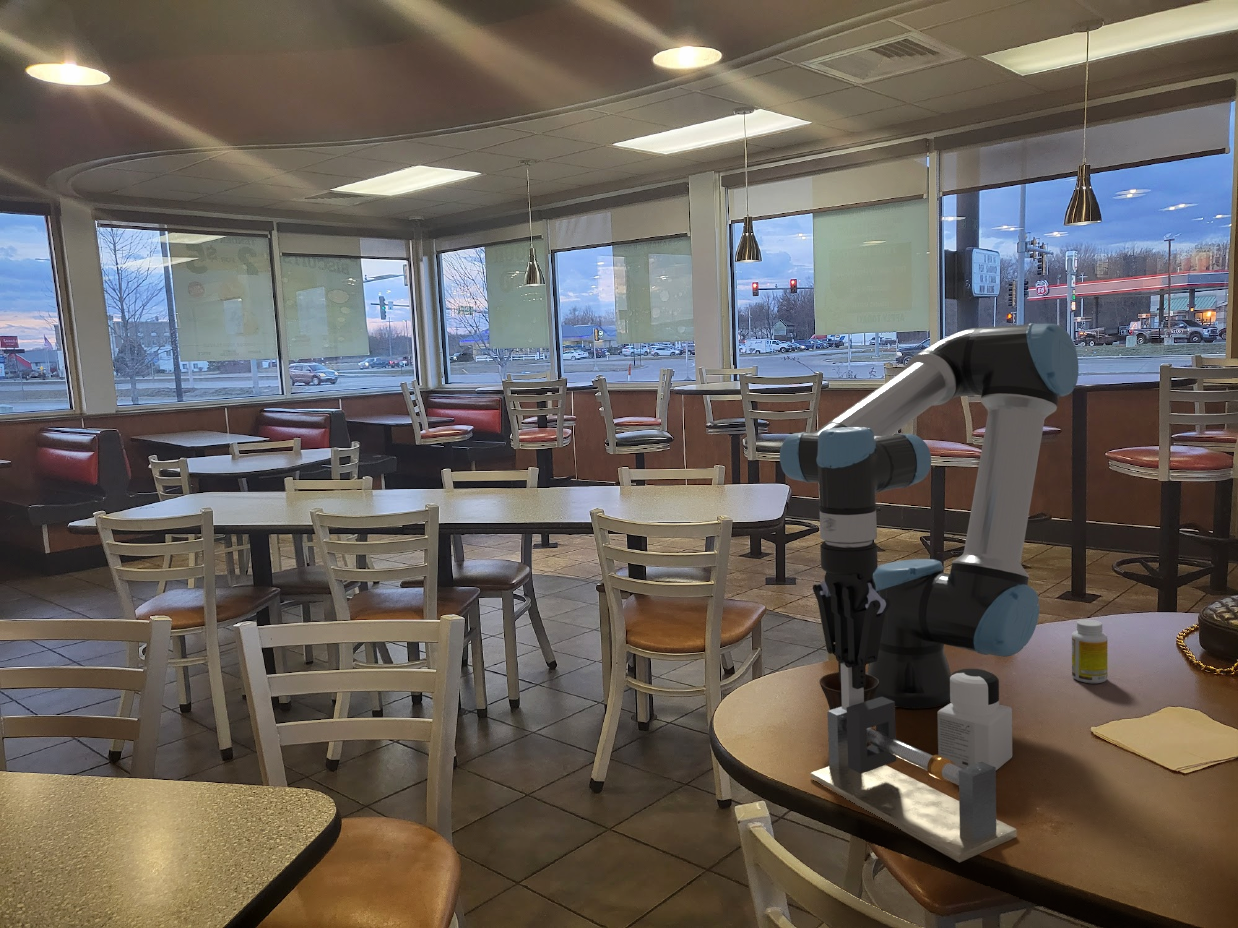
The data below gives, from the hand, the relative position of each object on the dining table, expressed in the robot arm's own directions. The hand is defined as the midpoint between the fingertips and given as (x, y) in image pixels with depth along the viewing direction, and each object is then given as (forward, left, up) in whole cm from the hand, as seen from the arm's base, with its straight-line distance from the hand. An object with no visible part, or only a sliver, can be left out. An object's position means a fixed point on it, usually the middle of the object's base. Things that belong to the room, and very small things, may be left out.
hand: (852, 707), depth 127 cm
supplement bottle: (-5, +59, -11) cm, 60 cm away
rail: (+9, 0, -11) cm, 14 cm away
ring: (+3, 0, -7) cm, 8 cm away
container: (+5, +18, -11) cm, 22 cm away
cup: (-11, +9, -11) cm, 18 cm away
